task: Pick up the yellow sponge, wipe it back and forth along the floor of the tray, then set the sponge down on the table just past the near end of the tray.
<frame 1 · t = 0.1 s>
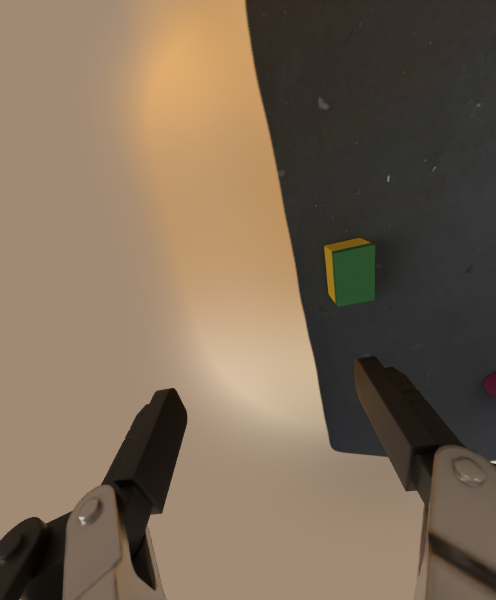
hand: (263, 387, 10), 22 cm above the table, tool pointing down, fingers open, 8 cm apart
sponge: (343, 267, 30), on the table
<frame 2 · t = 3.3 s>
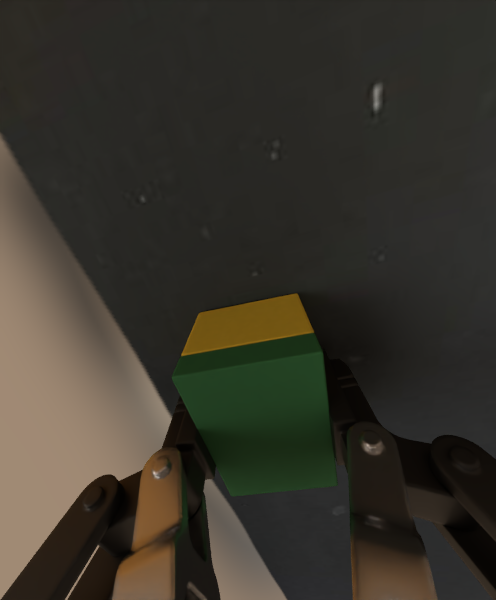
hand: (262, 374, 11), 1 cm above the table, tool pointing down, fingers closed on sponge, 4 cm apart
sponge: (262, 362, 12), on the table, touching gripper
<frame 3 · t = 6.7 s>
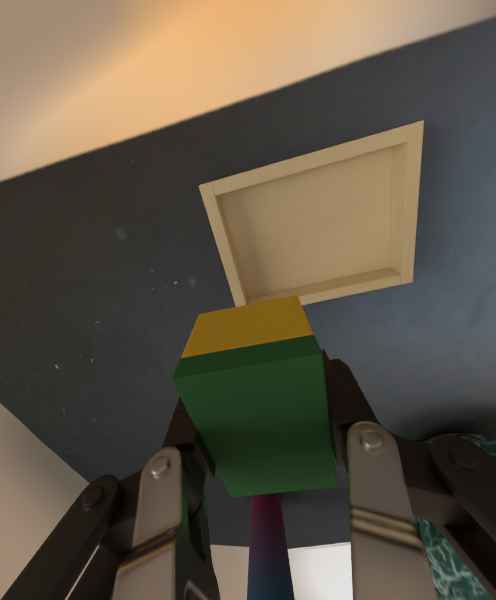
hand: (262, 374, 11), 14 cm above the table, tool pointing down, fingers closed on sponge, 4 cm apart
sponge: (262, 363, 12), point 13 cm above the table, touching gripper
cup: (265, 492, 42), on the table
decorative sphere: (435, 444, 35), on the table
tray: (307, 232, 21), on the table
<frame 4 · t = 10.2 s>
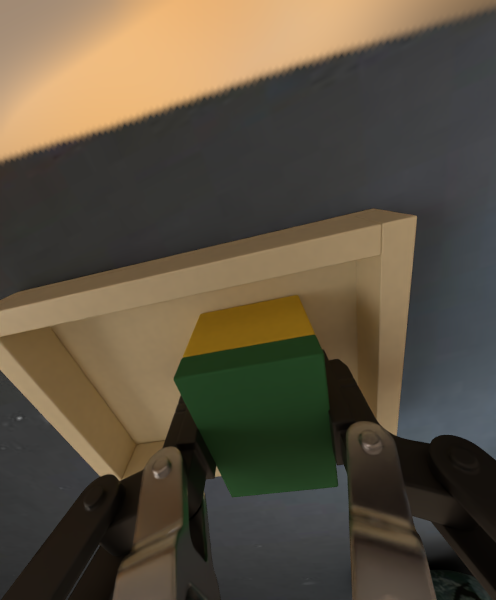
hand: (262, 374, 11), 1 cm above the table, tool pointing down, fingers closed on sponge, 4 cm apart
sponge: (263, 363, 12), point 1 cm above the table, touching gripper, tray
decorative sphere: (427, 570, 27), on the table
tray: (220, 359, 12), on the table
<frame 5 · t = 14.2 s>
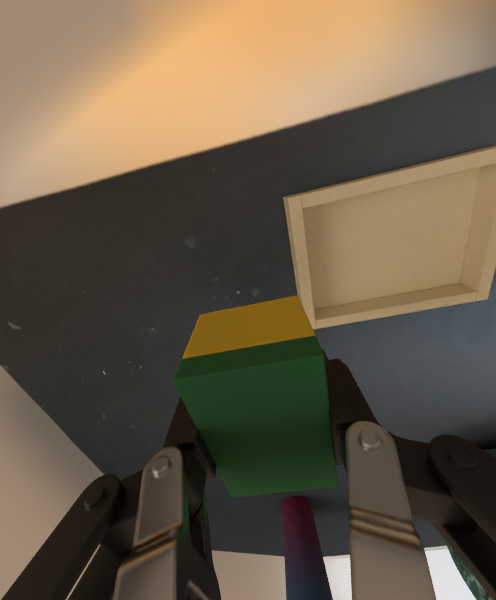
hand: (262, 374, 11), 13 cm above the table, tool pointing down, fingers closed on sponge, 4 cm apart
sponge: (263, 363, 12), point 12 cm above the table, touching gripper
cup: (295, 502, 41), on the table
decorative sphere: (474, 458, 35), on the table
tray: (380, 246, 21), on the table
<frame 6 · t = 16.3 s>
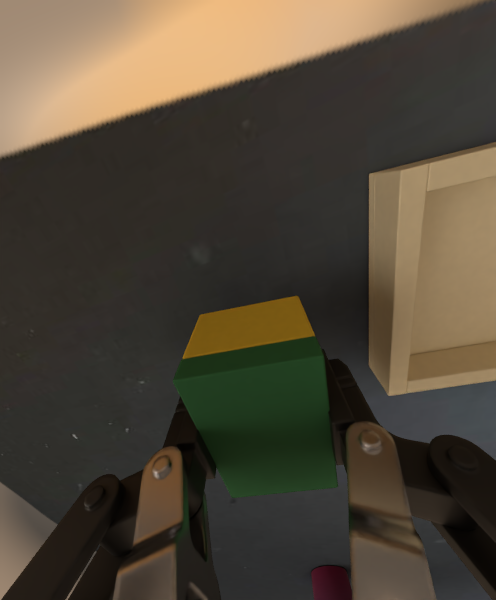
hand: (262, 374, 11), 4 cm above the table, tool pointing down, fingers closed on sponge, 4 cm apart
sponge: (262, 364, 12), point 3 cm above the table, touching gripper
cup: (328, 570, 33), on the table
when the fingers open (1 cm above the table, at t = 17.6 s): sponge stays where it is, on the table.
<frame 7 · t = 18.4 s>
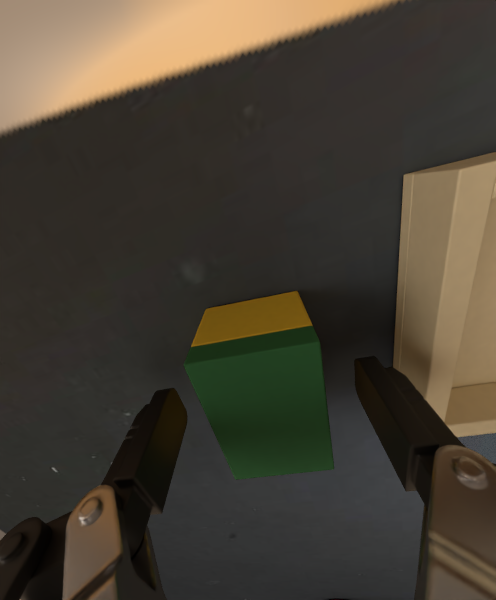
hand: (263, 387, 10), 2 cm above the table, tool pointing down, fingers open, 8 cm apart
sponge: (264, 356, 12), on the table
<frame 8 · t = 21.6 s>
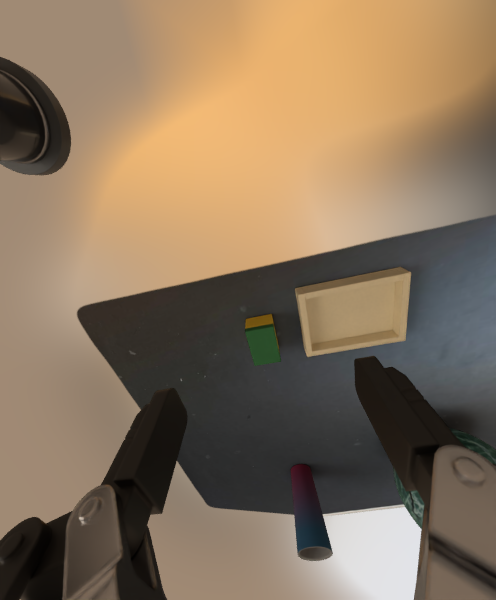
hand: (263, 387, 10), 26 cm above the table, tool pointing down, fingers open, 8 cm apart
sponge: (262, 333, 40), on the table
cup: (300, 468, 59), on the table
decorative sphere: (420, 434, 52), on the table
tray: (347, 310, 38), on the table
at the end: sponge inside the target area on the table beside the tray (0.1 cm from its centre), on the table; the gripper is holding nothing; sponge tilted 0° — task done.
